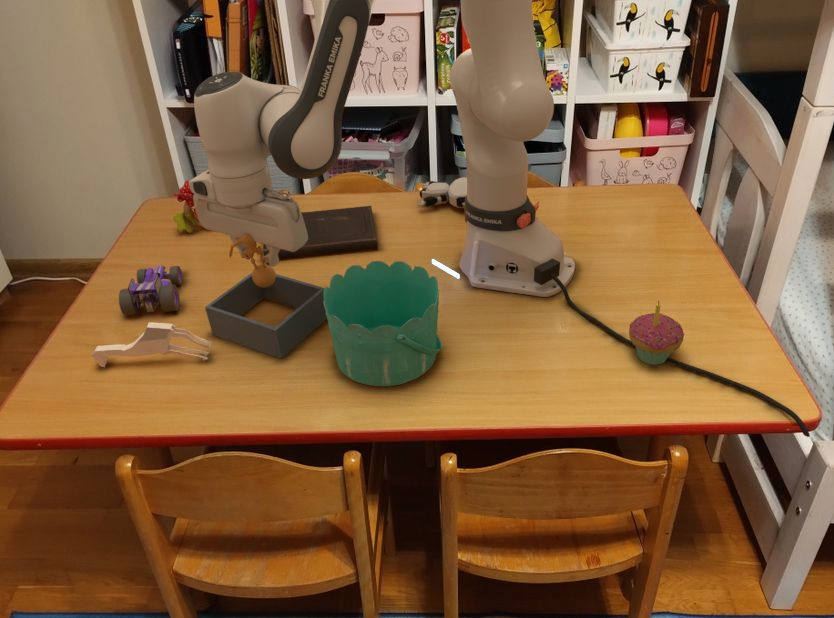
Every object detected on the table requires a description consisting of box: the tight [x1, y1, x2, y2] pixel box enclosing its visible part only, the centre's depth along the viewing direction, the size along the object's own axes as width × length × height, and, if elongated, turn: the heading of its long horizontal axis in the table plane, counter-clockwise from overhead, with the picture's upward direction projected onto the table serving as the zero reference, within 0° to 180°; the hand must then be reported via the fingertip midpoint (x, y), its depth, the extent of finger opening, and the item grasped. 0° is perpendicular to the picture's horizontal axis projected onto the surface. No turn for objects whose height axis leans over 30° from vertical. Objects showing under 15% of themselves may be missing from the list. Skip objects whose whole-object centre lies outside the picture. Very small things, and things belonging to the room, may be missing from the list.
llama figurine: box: [91, 321, 213, 368], centre depth 119 cm, size 2×11×18 cm
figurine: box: [228, 234, 277, 288], centre depth 119 cm, size 8×6×12 cm
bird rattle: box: [173, 179, 203, 234], centre depth 155 cm, size 6×11×9 cm
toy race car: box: [118, 265, 183, 316], centre depth 135 cm, size 10×15×6 cm, turn 6°
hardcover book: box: [262, 205, 379, 260], centre depth 152 cm, size 16×23×2 cm
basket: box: [323, 260, 443, 387], centre depth 116 cm, size 19×18×13 cm
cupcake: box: [628, 300, 685, 366], centre depth 113 cm, size 9×8×12 cm
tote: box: [204, 272, 327, 360], centre depth 126 cm, size 15×14×6 cm
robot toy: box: [416, 176, 467, 210], centre depth 162 cm, size 12×4×15 cm
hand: (260, 260), depth 120 cm, fingers closed on figurine, 4 cm apart
